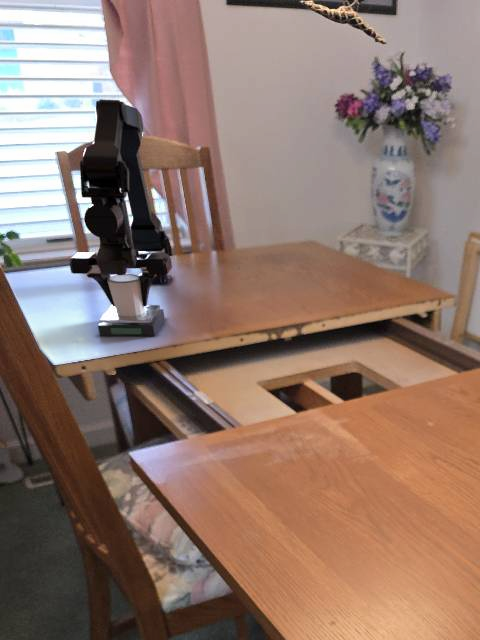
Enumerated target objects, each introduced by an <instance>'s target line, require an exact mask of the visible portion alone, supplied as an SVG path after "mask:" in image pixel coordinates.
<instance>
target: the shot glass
mask: <svg viewBox="0 0 480 640" xmlns="http://www.w3.org/2000/svg"><path fill="white" fill-rule="evenodd" d="M139 275H140V274H136V273H126V274H124V275H117V274H112V275H110V277H108V278H107V282H108V285H109V289H110V292H111V295H112V298H113V302H114V305H115V308H116V312H117V314H118V315H121V316H137V315H141V314H143V313H144V312H145V307H144V306H143V301H142V291H141V281H140V279H139Z"/></svg>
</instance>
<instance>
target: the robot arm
mask: <svg viewBox="0 0 480 640" xmlns="http://www.w3.org/2000/svg"><path fill="white" fill-rule="evenodd" d="M94 111H95V119H96V123H95V131H94V138H93V142H92V144H91V145H89V146H87V147H86V148H84V152H83V155H82V159H81V160H79V161H80V162H79V169H80V170H79V171H80V192H81V193H80V195H81V197H82V198H85V199H86V198H87V199H88V198H90V200H91V205H90V206H89V207H88V208H87V209H86V210H85V213H84V218H83V219H84V224H85V227H86V228H87V230H88V232H90V233H91V234H92V235H93V236H94V237H97V238H99V248H98V250H97V254H96V252H76V253H75V255H73V256H72V257H71V258H70V259H69V269H70V272H71V274H74V275H75V274H76V275H77V274H79V275H81V274H82V275H86V277H87V278H89V279H92V280H93V281H95V282H96V283H97V284H98V285H99V286H100V288H101V289H102V291H103V292H104V294H105V296H106V298H107V300H108V301H109V303H110V304H111V306H113V307H115V305H114V302H113V298H112V295H111V292H110V289H109V285H108V282H107V278H108V277H110V276H111V275H124V274H127V272H128V270H127V269H140V271H141V272H140V274H138V275H139V279H140V281H141V291H142V301H143V306H144V307H146V306H147V305H148V302H149V301H148V300H149V295H150V289H151V285H168V284H169V282H170V281H171V279H172V275H170V274H169V273H170V271H171V270H172V269H173V263H172V258H171V257H172V256H173V250H172V245H171V242H170V241H171V240H170V238H169V236H168V235H167V233H166V232H167V231H166V230H164V229H163V225H162V221H161V220H160V219H159V218H158V216H157V215H156V214H155V213H154V212H153V210H152V207H151V202H150V197H149V194H148V188H147V184H146V178H145V175H144V171H143V166H142V161H141V157H140V151H139V150H140V147H141V144H142V137H143V133H144V122H143V116H142V114H141V112H140V111H139V109H138V108H137V107H134V106H131V105H128V104H126V103H125V102H124V101H121V100H120V99H98V100H96V101H95V107H94ZM126 198H128V202H129V206H130V210H131V215H132V217H131V219H129V214H128V213H129V212H128V207H127V202H126Z"/></svg>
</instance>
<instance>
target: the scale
mask: <svg viewBox="0 0 480 640" xmlns="http://www.w3.org/2000/svg"><path fill="white" fill-rule="evenodd" d="M165 320H166V318H165V312H164V309H163V308H160V309H159V310H158V312H157V314H156V315H155V317H154V318H153V320H152V322H151V323H101V322H100V321H99V323H98V325H97V328H98V333H99V336H100V337H156V335H157V333H158V331H159V330H160V328H161V326H162V325H163V323H164V322H165Z"/></svg>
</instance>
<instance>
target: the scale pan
mask: <svg viewBox="0 0 480 640" xmlns="http://www.w3.org/2000/svg"><path fill="white" fill-rule="evenodd" d="M159 309H161V306H160V305H159V304H147V306H146V307H145V312H144V313H143V314H141V315H137V316H121V315H118V314H117V312H116V308H115V307H113V306H112V305H110V306H109V308H108V309H107V310H106V312H105V313H104V314H103V315H102V317H100V319H99V323H100V322H101V323H151V322H152V320H153V318H154V317H155V315H156V314H157V312H158V310H159Z"/></svg>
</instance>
